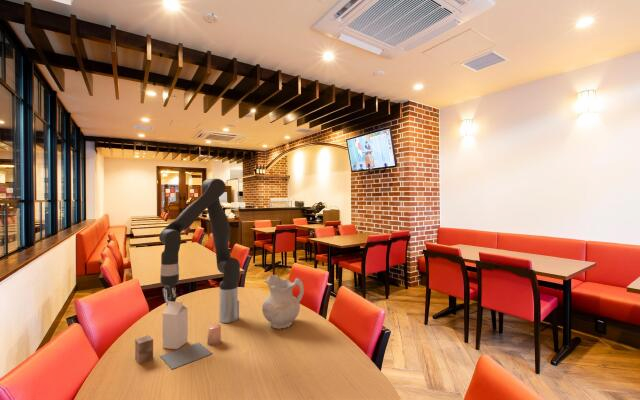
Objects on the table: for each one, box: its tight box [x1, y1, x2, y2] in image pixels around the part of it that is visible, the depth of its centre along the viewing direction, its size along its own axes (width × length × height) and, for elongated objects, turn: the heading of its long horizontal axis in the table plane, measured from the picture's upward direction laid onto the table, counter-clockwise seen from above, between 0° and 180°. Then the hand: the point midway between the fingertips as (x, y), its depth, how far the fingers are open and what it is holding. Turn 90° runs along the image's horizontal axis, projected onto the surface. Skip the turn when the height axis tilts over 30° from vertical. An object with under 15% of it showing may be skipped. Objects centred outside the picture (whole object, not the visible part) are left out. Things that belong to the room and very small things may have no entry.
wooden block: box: [134, 334, 154, 365], centre depth 118 cm, size 5×5×8 cm
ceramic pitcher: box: [261, 274, 305, 330], centre depth 152 cm, size 22×20×25 cm
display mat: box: [159, 342, 213, 370], centre depth 121 cm, size 16×13×1 cm
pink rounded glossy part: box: [206, 323, 222, 347], centre depth 132 cm, size 6×6×7 cm
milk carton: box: [162, 301, 189, 350], centre depth 129 cm, size 7×7×19 cm
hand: (169, 311), depth 134 cm, fingers closed
